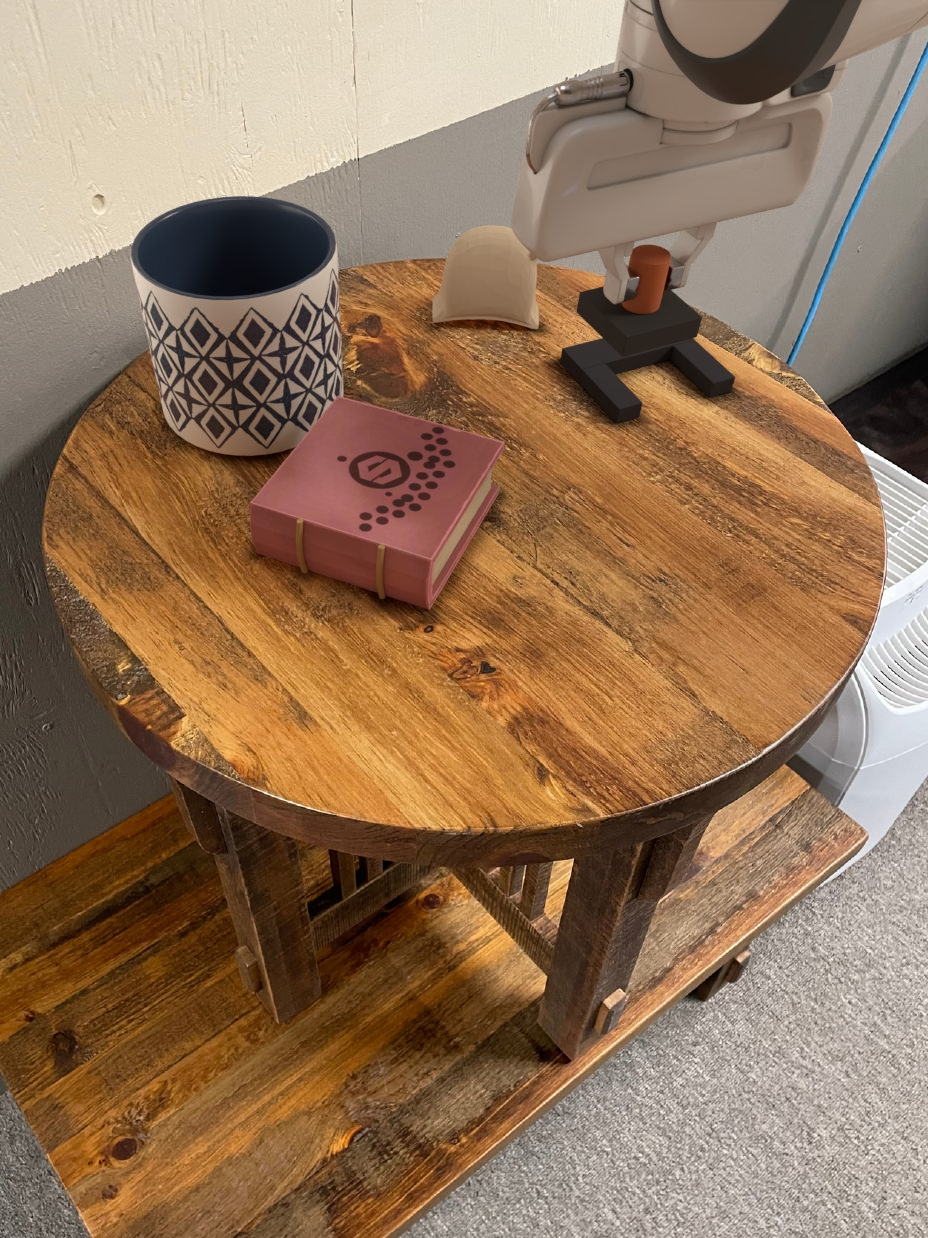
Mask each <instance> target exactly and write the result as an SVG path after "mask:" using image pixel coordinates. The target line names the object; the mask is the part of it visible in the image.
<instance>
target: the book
mask: <svg viewBox="0 0 928 1238" xmlns="http://www.w3.org/2000/svg"><path fill="white" fill-rule="evenodd" d="M505 443H506V441H503V440H499V439H495V438H492V437H488V436H485V435H481V434H478V433H474V432H471V431H467V430H465V429H460V428H456V427H452V426H449V425H446V424H441V423H438V422H434V421H431V420H428V419H423V418H420V417H416V416H413V415H409V414H406V413H402V412H398V411H395V410H391V409H388V408H384V407H380V406H377V405H374V404H370V403H366V402H362V401H359V400H355V399H352V398H348V397H344V396H343V397H341V396H337V397H336V399H335V400H334V401H333V402H332V403H331V405H330V406H329V407H328V408H327V410H326V411H325V412H324V413H323V414H322V416H321V417H320V418H319V419H318V421H317V422H316V423H315V424H314V425H313V427H312V428H311V429H310V430H309V432H308V433H307V434H306V435H305V436H304V438H303V439H302V440H301V441H300V443H299V444H298V445H297V446H296V447H295V448H293V450H292V451H291V452H290V454H288V455H287V457H286V458H285V459H284V461H283V462H282V463H281V464H280V465H279V467H278V468H277V469H276V471H274V473H273V474H272V475H271V477H270V478H269V479H268V480H267V481H266V482H265V484H264V485H263V487H262V488H261V489H260V491H258V492H257V494H256V495H255V496H254V497H253V499H252V500H251V501H250V502H249V528H250V534H251V541H252V543H253V546H254V549H255V551H256V553H257V555H260V556H264V557H267V558H271V559H272V560H276V561H279V562H283V563H285V564H288V565H292V566H294V567H297V568H300V571H301V574H307V573H309V571H310V572H313V573H316V574H318V575H322V576H325V577H328V578H330V579H334V580H337V581H340V582H343V583H346V584H349V585H352V586H355V587H358V588H361V589H364V590H367V591H370V592H373V593H377V594H378V598H379V599H380V600H384V599H386V597H389V598H392V599H395V600H398V601H401V602H404V603H407V604H410V605H413V606H417V607H419V608H422V609H425V610H429V611H430V610H431V608H432V607H433V605H434V604H435V602H436V600H437V599H438V596H439V595H440V593H441V592H442V591H443V589H444V586H445V585H446V583H447V582H448V580H449V578H450V577H451V575H452V573H453V571H454V570H455V568H456V566H457V564H458V563H459V562H460V560H461V558H462V556H463V554H464V552H465V551H466V549H467V548H468V546H469V544H470V542H471V541H472V540H473V538H474V536H475V534H476V533H477V531H478V530H479V528H480V526H481V524H482V522H483V521H484V519H485V517H486V516H487V514H488V513H489V511H490V509H491V507H492V505H493V504H494V503H495V501H496V499H497V497H498V495H499V494H500V487H501V486H500V485H498V484H495V483H492V474H493V468H494V466H495V464H496V463H497V462H498V460H499V458H500V457H501V455H502V453H503V451H504V450H505Z"/></svg>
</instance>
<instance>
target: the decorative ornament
mask: <svg viewBox="0 0 928 1238" xmlns="http://www.w3.org/2000/svg"><path fill="white" fill-rule="evenodd" d="M537 263H538V260H537V258H536V257H535V256H534V255H533V254H532V253H531V252H529V251H528V250H527V249H526V248H525V247H524V246H523V245H522V244H521V242H520V241H519V240H518V239H517V237H516V236H515V234H514V232H513V230H512V227H509V226H504V225H495V224H494V225H493V224H487V225H479V226H475V227H473V228H470V229H468V230H465V232H464V233H462V234H461V235H460V236H459V237H458V238H457V239H456V240H455V241H454V243H453V245H452V246H451V248H450V250H449V252H448V253H447V257H446V259H445V263H444V267H443V273H442V277H441V280H440V281H441V282H440V286H439V290H438V292H437V293H436V294H435V295H434V296H433V298H432V302H431V303H432V304H431V305H432V309H431V310H432V313H431V314H432V322H433V323H442V322H451V321H461V320H489V321H502V322H506V323H511V324H515V325H519V326H523V327H525V328H528V329H531V330H539V325H540V307H539V305H538V303H537V282H538V281H537V280H538V264H537Z"/></svg>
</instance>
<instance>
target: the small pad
mask: <svg viewBox="0 0 928 1238" xmlns="http://www.w3.org/2000/svg"><path fill="white" fill-rule="evenodd" d="M670 261H671V254H670V252H669V250H668V249H666V248H665V247H663V246H660V245H656V244H640V245H638V246H635V247H633V251H632V254H631V255H630V256H629V261H628V264H627V266H629V267H630V269H631V271H633V272H635V273H637V274H638V275H639V276H640V280H639V285H638V287H637V289H636V292H637V294H636V297H635V298H634V299H633V300H629V301H626V302H622V303H617V304H613V303H612V302H611V301H610V300H609V299H607V298H606V297H605V295H604V291H603V287H604V285H603V286H599V287H595V288H592V289H591V288H590V289H587V290H583V291H580V292H579V293H578V294H579V295H578V301H577V307H576V313H577V314H578V315H579V316H580V317H581V318H582V319H583V320H584V321H585V322H586V323H587V325H589V326H590V327H591V328H592V329H593V330H594V331H595V332H596V333H597V334H598V335H599V336H600V337H601V338H603V339H604V340H605V341H606V342H607V343H609V344H610V345H611V346H612V347H613V348H614V349H615V350H616V351H617V352H618V353H619V354H620V355H621V356H622V357H624V356H628V355H632V354H635V353H639V352H643V351H646V350H650V349H654V348H658V347H661V346H665V345H669V344H673V343H676V342H680V341H684V340H688V339H691V338H694V339H695V338H697V337H698V335H699V330H700V327H701V323H702V320H703V316H702V315H701V314H699V312H697V311H696V310H695V309H694V308H693V307H692V306H690V305H689V304H688V303H687V302H686V301H684V299H682V298H681V297H680V296H679V295H678V294H677V293H675V292H674V291H673V290H668V291H663V290H664V286H665V282H666V278H667V274H668V269H669V265H670Z"/></svg>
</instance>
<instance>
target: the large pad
mask: <svg viewBox="0 0 928 1238" xmlns="http://www.w3.org/2000/svg"><path fill="white" fill-rule="evenodd" d="M666 361H671V363H672V364H673V365H675V366H676V367H677V368H678V369H679V370H680V371H681V372H682V373H683V374H684V375H685V376H686V377H687V378H688V379H690V381H691V382H692V383H694V384H695V385H696V386H697V387H698V389H700V390H701V391H702V392H703V393H704V394H705V395H706V396H707V397H708V398H712V397H715V396H719V395H723V394H726V393H729V392H732V389H733V387H734V384H735V381H736V376H735V375H734V374H733V373H732V372H730V371H729V369H727V367H725V366H724V365H723V364H722V363H721V362H720V361H719V360H718V359H717V358H715V357H714V356H713V355H712V354H711V353H710V352H709V351H708V350H706V348H705V347H703V345H701V344H700V342H698V341H697V340H696V339H695V338H691V339H688V340H684V341H680V342H676V343H673V344H669V345H665V346H661V347H658V348H654V349H650V350H646V351H643V352H639V353H635V354H632V355H628V356H624V357H622V356H621V355H620V354H619V353H618V352H617V351H616V350H615V349H614V348H613V347H612V346H611V345H610V344H609V343H607V342H606V341H605V340H604V339H603V338H602V337H601V338H597V339H594V340H590V341H586V342H582V343H578V344H574V345H570V346H566V347H562V348H561V354H560V359H559V363H560V364H561V365H562V367H563V368H564V369H565V371H567V372H568V373H569V374H570V375H571V377H572V378H573V379H575V381H576V382H577V383H578V384H579V385H580V386H581V387H582V388H583V389H584V390H585V391H586V392H587V394H588V395H589V396H590V397H591V398H592V399H593V400H594V401H595V402H596V404H597V405H599V406H600V408H601V409H602V410H603V411H604V412H605V413H606V414H607V415H608V416H609V417H610V418H611V420H612V421H613V422H614V423H615V424H619V423H623V422H626V421H629V420H633V419H637V418H640V416H641V412H642V407H643V401H642V400H641V399H640V398H639V397H638V396H637V395H636V394H635V393H634V392H633V391H632V390H631V389H630V387H628V386H627V385H626V384H625V382H624V381H623V380H622V379H620V377H618V375H617V374H621V373H624V372H628V371H632V370H636V369H639V368H644V367H647V366H651V365H655V364H658V363H663V362H666Z"/></svg>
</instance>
